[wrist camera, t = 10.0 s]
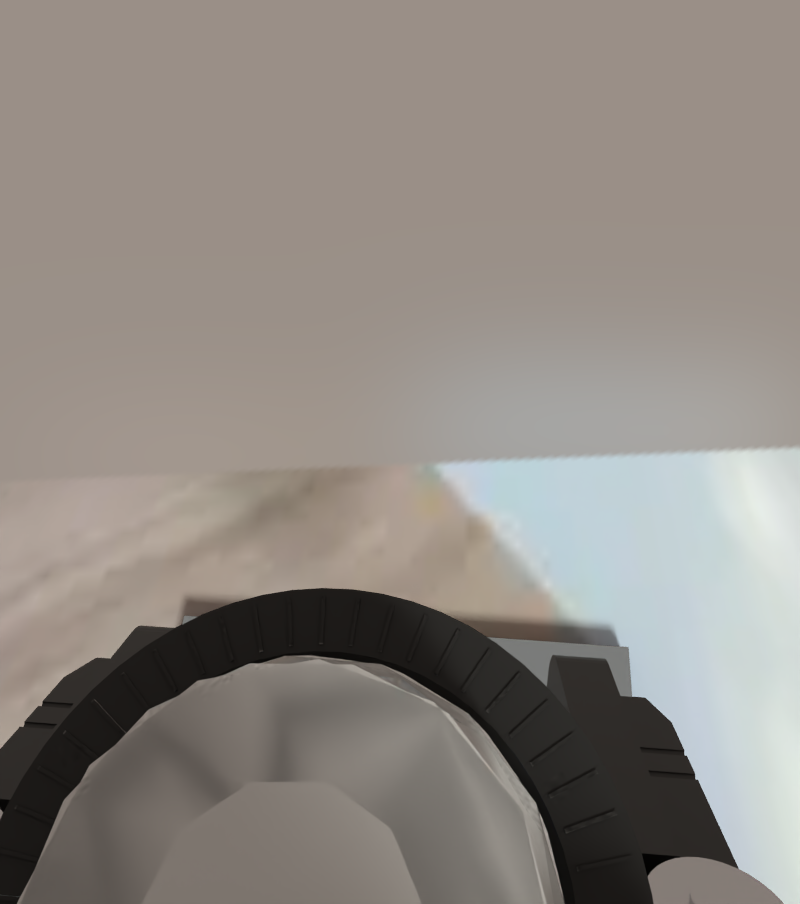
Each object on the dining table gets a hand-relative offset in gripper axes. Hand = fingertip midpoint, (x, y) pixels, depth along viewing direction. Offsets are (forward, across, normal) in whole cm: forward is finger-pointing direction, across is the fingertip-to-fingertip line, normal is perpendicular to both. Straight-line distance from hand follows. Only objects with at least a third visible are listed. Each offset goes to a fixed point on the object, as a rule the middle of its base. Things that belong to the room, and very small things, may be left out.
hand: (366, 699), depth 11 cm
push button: (+2, 0, +5) cm, 5 cm away
